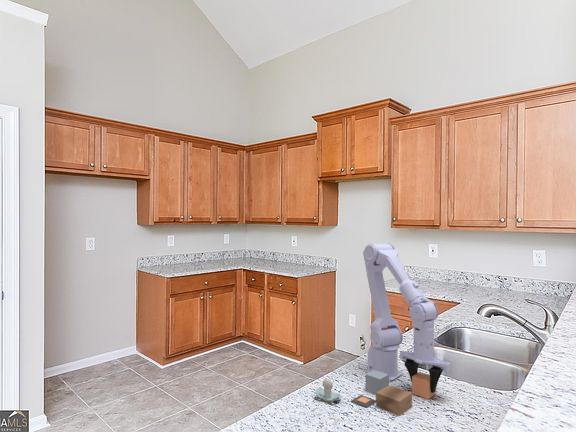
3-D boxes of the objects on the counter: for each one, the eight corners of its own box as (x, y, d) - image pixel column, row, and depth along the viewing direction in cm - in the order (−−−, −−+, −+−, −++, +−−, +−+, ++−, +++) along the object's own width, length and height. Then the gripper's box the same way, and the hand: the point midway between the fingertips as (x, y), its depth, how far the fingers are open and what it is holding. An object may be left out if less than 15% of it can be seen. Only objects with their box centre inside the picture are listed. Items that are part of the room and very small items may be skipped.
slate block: (365, 391, 109) (365, 374, 109) (374, 386, 112) (374, 369, 112) (380, 396, 105) (380, 379, 105) (388, 391, 109) (388, 374, 109)
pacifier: (322, 392, 108) (313, 400, 102) (322, 371, 108) (313, 377, 103) (345, 398, 104) (336, 406, 99) (345, 376, 104) (337, 383, 99)
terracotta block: (412, 393, 107) (412, 376, 107) (419, 388, 110) (419, 371, 110) (428, 399, 103) (428, 381, 103) (435, 393, 107) (435, 376, 107)
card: (351, 401, 101) (351, 399, 101) (361, 396, 105) (361, 394, 105) (366, 408, 98) (366, 405, 98) (376, 401, 102) (376, 399, 102)
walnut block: (376, 407, 99) (376, 392, 99) (389, 399, 104) (389, 385, 104) (399, 417, 94) (399, 401, 94) (412, 407, 99) (411, 393, 99)
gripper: (394, 339, 109) (394, 385, 109) (443, 351, 99) (443, 401, 99) (405, 335, 114) (405, 378, 114) (452, 345, 104) (452, 393, 104)
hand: (423, 388), depth 107 cm, fingers closed on terracotta block, 5 cm apart
